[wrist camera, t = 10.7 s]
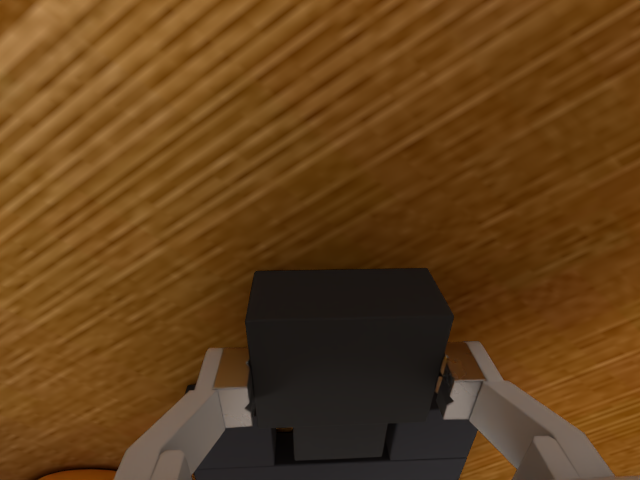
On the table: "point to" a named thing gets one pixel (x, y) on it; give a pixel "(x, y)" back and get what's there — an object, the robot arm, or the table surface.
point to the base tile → (349, 473)
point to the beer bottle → (81, 475)
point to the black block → (344, 355)
